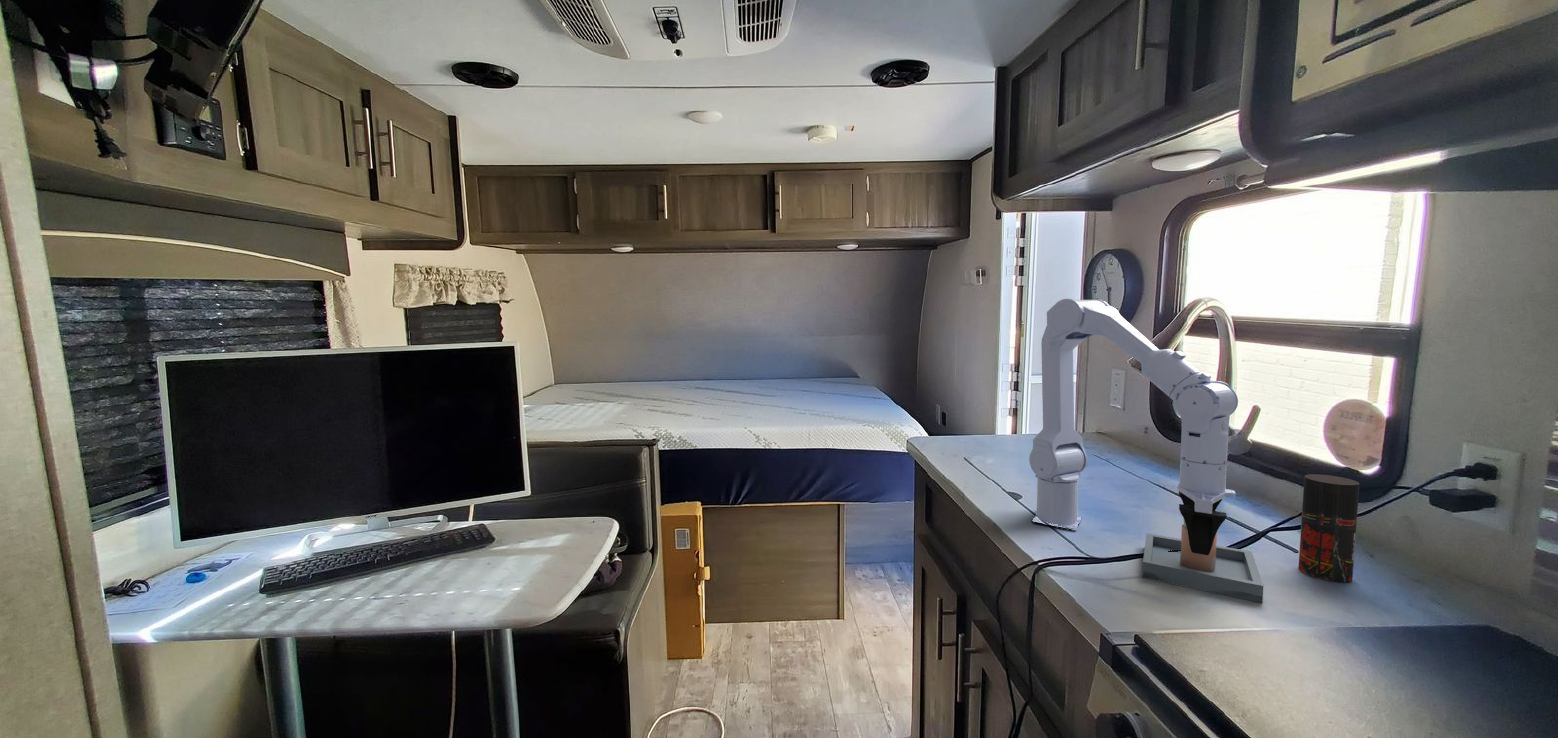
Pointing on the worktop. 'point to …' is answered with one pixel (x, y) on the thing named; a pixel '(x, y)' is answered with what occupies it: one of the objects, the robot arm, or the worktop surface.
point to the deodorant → (1328, 527)
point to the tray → (1229, 577)
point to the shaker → (1194, 559)
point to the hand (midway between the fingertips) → (1198, 544)
